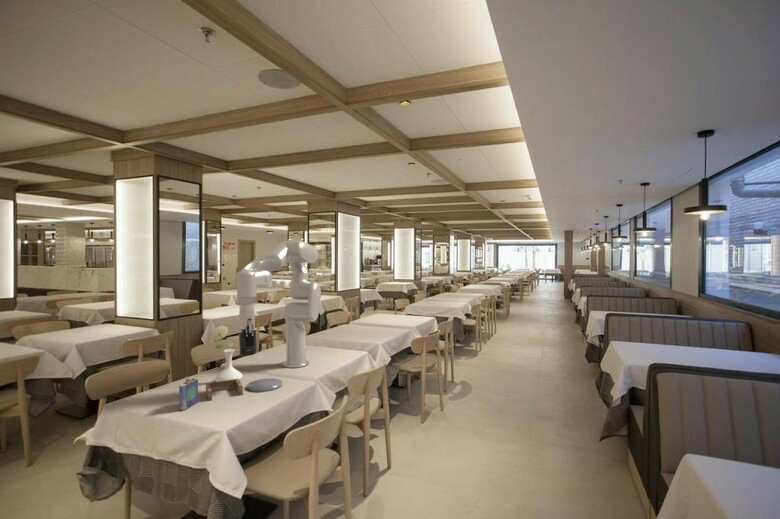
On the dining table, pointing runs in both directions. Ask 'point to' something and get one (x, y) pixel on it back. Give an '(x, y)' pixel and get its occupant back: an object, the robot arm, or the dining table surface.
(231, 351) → the flower in vase
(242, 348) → the supplement bottle
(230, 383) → the brown wooden arch piece
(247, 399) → the dining table surface
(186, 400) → the flask
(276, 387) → the plate
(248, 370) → the dining table surface
